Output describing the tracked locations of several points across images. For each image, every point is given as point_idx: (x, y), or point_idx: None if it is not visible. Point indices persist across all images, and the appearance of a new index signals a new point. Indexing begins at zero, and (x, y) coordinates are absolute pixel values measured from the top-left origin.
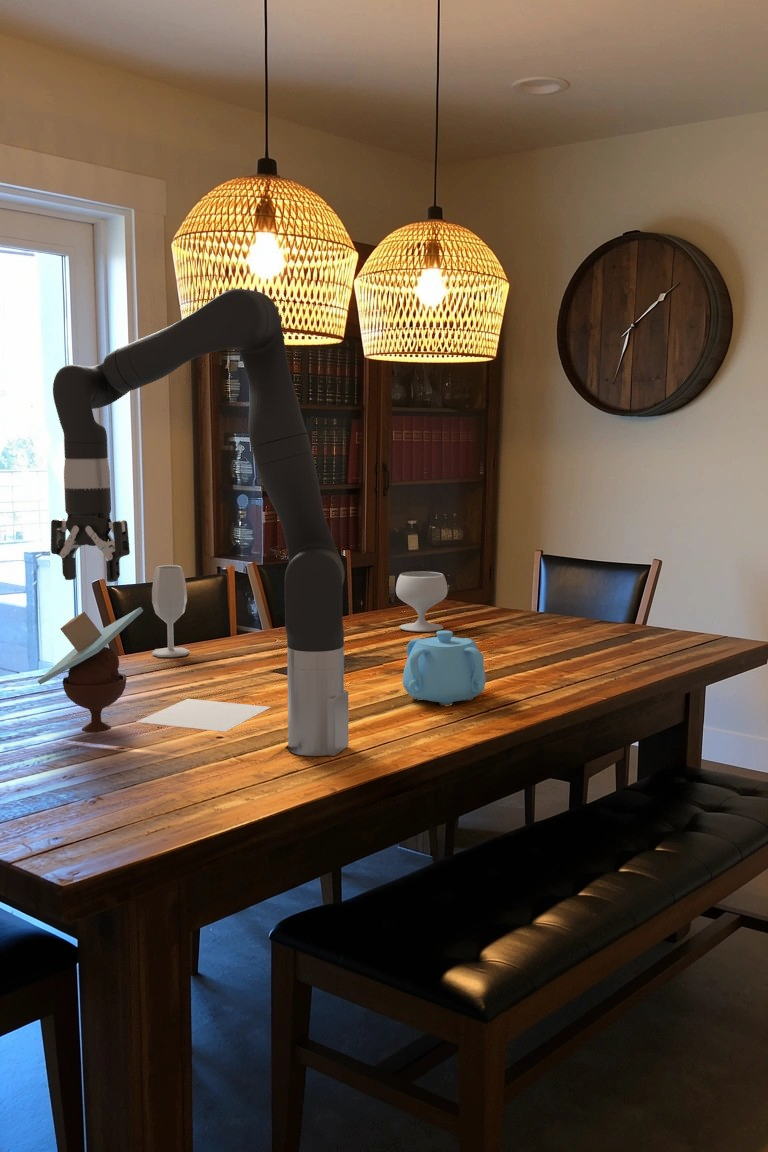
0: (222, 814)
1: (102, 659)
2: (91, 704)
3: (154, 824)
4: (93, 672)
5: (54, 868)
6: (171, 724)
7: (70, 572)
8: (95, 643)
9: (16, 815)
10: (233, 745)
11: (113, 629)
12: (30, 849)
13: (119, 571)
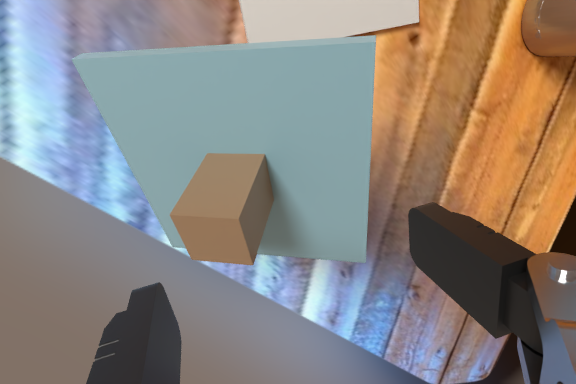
0: (527, 246)
1: None
2: None
3: None
4: None
5: (467, 372)
6: (318, 33)
7: (171, 347)
8: (311, 217)
9: (379, 350)
10: (449, 63)
11: (337, 173)
12: (435, 370)
13: (485, 227)
